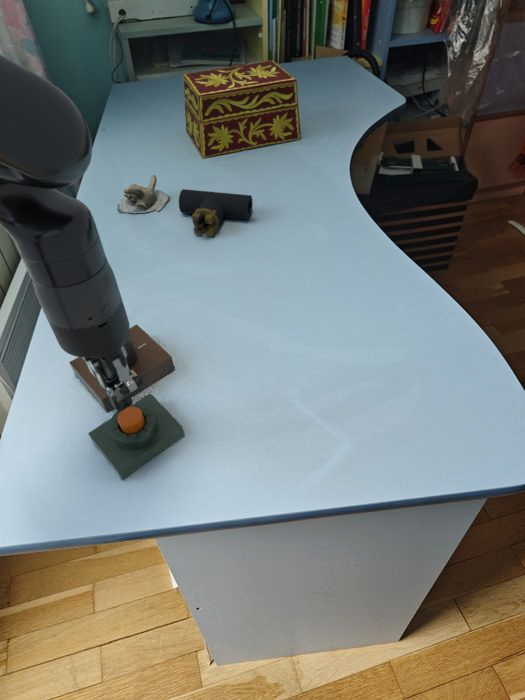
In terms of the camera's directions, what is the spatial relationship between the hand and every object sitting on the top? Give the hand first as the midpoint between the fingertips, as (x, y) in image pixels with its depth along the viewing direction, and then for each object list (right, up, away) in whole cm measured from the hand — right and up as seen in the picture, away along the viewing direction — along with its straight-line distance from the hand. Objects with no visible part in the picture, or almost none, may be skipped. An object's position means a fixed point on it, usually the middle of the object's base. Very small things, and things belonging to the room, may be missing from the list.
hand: (123, 405), depth 61 cm
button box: (+1, -5, +6) cm, 8 cm away
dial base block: (-4, +3, +14) cm, 15 cm away
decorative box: (+12, +66, +73) cm, 99 cm away
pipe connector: (+7, +34, +43) cm, 55 cm away
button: (0, -3, +3) cm, 4 cm away
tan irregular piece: (-9, +41, +50) cm, 65 cm away
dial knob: (-4, +6, +12) cm, 14 cm away
